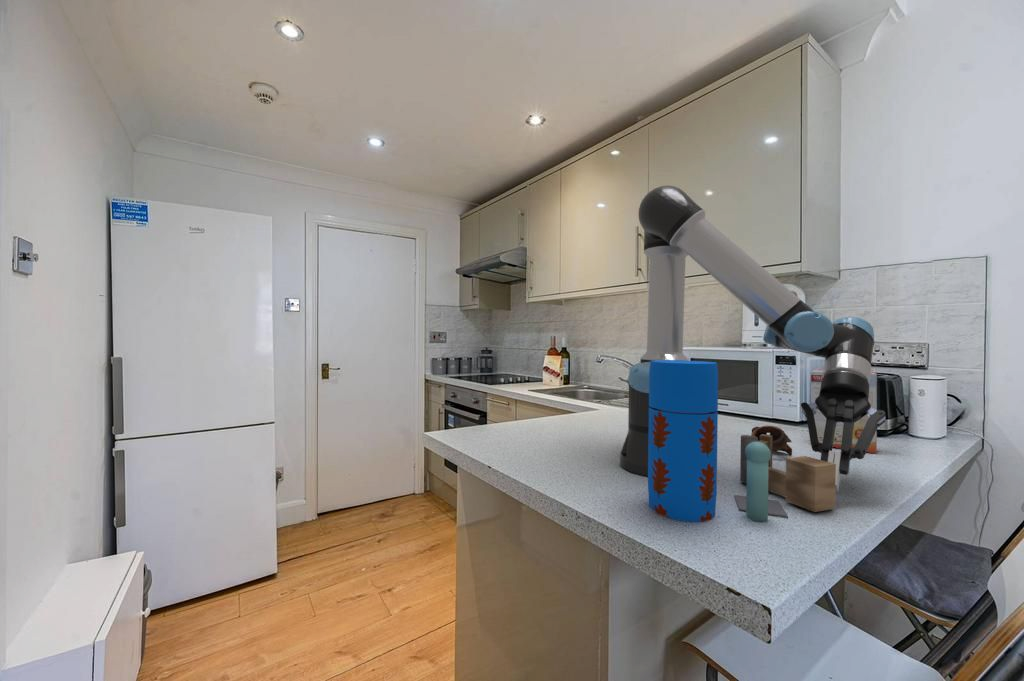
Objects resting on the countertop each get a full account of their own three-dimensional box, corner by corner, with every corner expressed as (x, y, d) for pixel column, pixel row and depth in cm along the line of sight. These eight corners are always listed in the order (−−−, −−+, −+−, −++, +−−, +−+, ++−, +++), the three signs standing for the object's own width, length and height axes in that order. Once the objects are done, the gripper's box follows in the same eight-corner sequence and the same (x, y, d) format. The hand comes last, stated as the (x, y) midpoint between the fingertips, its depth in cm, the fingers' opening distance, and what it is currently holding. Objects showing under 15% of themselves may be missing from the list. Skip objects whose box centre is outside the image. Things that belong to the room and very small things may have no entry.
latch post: (741, 517, 67) (742, 441, 67) (748, 510, 69) (749, 438, 69) (766, 524, 64) (767, 445, 64) (772, 517, 67) (773, 442, 67)
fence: (747, 480, 85) (747, 441, 85) (761, 469, 92) (762, 434, 92) (758, 482, 84) (758, 443, 83) (772, 471, 90) (772, 435, 90)
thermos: (685, 527, 63) (687, 364, 63) (634, 502, 72) (636, 360, 72) (730, 514, 68) (732, 363, 68) (677, 492, 77) (679, 359, 77)
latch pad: (734, 496, 76) (734, 494, 76) (778, 502, 73) (778, 500, 73) (739, 510, 69) (739, 508, 69) (788, 518, 67) (788, 516, 67)
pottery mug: (805, 460, 101) (798, 434, 99) (771, 477, 101) (763, 451, 99) (769, 437, 113) (762, 412, 110) (738, 452, 113) (730, 428, 110)
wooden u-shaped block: (732, 480, 83) (733, 436, 83) (751, 477, 85) (751, 434, 85) (814, 512, 68) (815, 457, 68) (835, 508, 70) (835, 455, 70)
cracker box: (876, 450, 110) (877, 372, 110) (876, 454, 106) (877, 373, 106) (812, 441, 120) (813, 369, 120) (809, 444, 115) (810, 370, 115)
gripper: (890, 396, 80) (883, 509, 69) (807, 390, 89) (790, 488, 78) (888, 372, 76) (881, 487, 65) (802, 367, 86) (783, 467, 74)
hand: (831, 487), depth 72 cm, fingers closed
